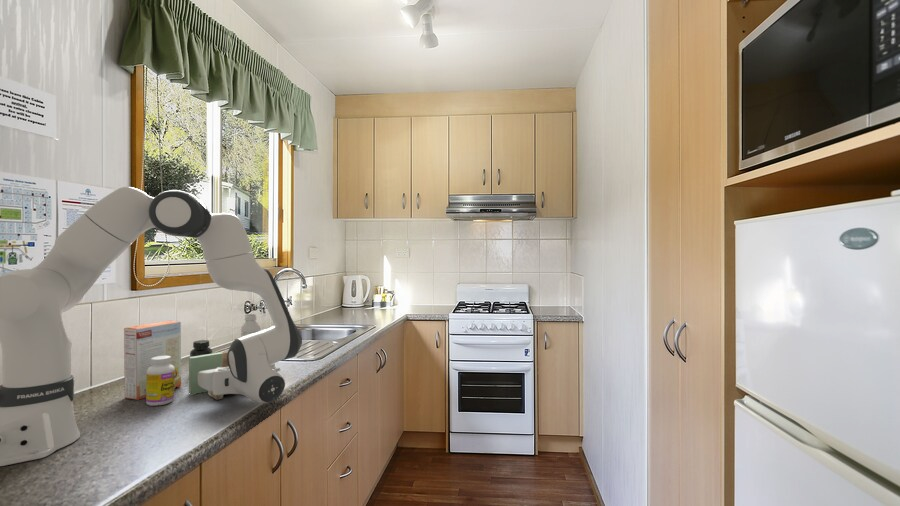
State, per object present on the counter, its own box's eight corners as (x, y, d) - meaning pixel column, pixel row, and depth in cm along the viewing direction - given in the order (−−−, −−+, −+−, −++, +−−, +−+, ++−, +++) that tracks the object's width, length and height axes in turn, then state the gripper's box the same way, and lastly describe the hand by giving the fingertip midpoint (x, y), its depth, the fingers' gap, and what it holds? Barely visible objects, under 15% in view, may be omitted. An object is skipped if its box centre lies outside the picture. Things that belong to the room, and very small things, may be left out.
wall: (190, 394, 129) (191, 358, 129) (188, 393, 130) (189, 357, 130) (245, 383, 140) (245, 349, 140) (243, 382, 142) (243, 348, 142)
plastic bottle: (242, 367, 160) (243, 313, 160) (262, 366, 161) (262, 313, 161) (237, 372, 153) (237, 316, 153) (257, 371, 155) (258, 316, 155)
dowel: (224, 395, 126) (225, 354, 126) (219, 392, 129) (220, 352, 129) (238, 391, 129) (239, 352, 129) (233, 389, 132) (234, 349, 132)
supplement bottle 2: (187, 375, 149) (187, 341, 149) (209, 371, 154) (209, 338, 154) (192, 379, 144) (192, 344, 144) (214, 376, 149) (214, 341, 149)
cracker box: (168, 384, 139) (168, 320, 139) (181, 386, 137) (182, 321, 137) (122, 398, 125) (123, 326, 125) (136, 400, 123) (137, 328, 123)
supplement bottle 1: (160, 407, 118) (160, 360, 118) (140, 405, 119) (140, 359, 120) (180, 399, 125) (180, 355, 125) (160, 397, 126) (161, 354, 126)
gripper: (283, 359, 128) (262, 352, 137) (208, 372, 113) (191, 363, 122) (282, 380, 128) (262, 371, 137) (207, 396, 113) (190, 385, 122)
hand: (228, 368), depth 130 cm, fingers closed on dowel, 4 cm apart
